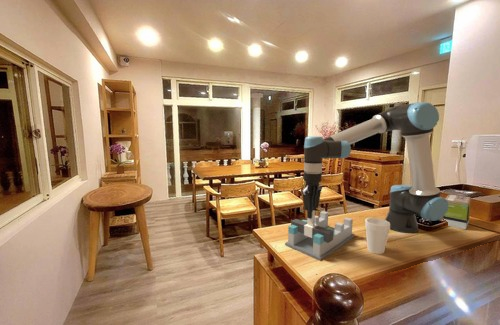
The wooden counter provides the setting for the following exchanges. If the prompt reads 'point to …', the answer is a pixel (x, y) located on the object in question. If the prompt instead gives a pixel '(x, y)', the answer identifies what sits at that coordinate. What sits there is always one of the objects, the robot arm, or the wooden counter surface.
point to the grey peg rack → (320, 237)
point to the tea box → (458, 211)
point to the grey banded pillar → (313, 230)
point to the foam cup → (376, 234)
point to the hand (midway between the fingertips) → (310, 224)
